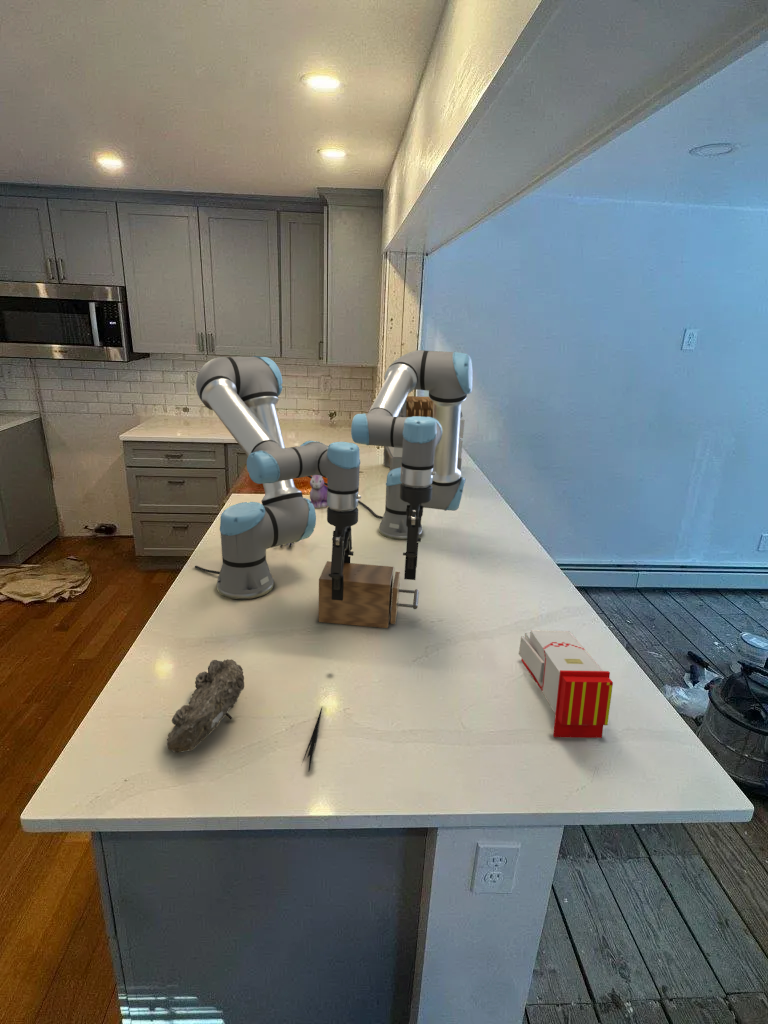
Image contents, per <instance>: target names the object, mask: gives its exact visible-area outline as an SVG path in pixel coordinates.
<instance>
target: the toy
mask: <svg viewBox="0 0 768 1024" xmlns="http://www.w3.org/2000/svg"><path fill="white" fill-rule="evenodd" d="M519 641H520V642H519V650H518V655H519V657H520V658H521V660H520V661H521V662H522V664H523V666H524V667H525V669H526V670H527V671H528V673H529V674H530V676H531V677H532V679H533V680H534V682H535V684H536V685H537V686H538V687H539V689H540V690H541V692H542V694H543V696H544V697H545V699H546V701H547V702H548V705H549V706H550V708H551V709H552V711H553V713H554V723H553V732H552V733H553V734H552V736H553V738H570V739H571V738H572V739H575V738H577V739H578V738H579V739H581V738H583V739H584V738H587V739H602V737H603V732H604V726H608V725H609V716H610V710H611V702H612V693H613V685H614V682H613V681H612V679H611V677H610V675H611V672H610V671H609V670H603V668H601V666H600V665H599V664H598V663H597V661H595V659H594V658H593V657H592V656H591V654H589V652H588V651H587V650H586V648H585V647H584V646H583V645H582V644H581V643H580V642H579V640H578V639H577V638H576V637H575V635H574V634H573V633H572V632H571V631H570V630H538V629H537V630H536V629H535V630H534V629H530V631H525V632H524V636H520V640H519Z"/></svg>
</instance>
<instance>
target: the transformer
mask: <svg viewBox="0 0 768 1024" xmlns="http://www.w3.org/2000/svg"><path fill="white" fill-rule="evenodd" d="M413 416H422V417H432V418H433V401H432V400H431V399H430V398H429V396H415V395H414V396H413V395H412V396H411V395H408V396H407V398H406V400H405V402H404V404H403V407H402V409H401V411H400V413H399V415H398V417H404V418H408V417H413ZM464 429H465V419H464V418H463V411H461V414H460V429H459V445H458V460H457V468H458V469H459V470H460V472H461V473H462V461H463V460H462V453H463V442H464V441H463V440H462V439H463V438H464V431H465V430H464ZM402 449H403V448H396V447H386V446H383V466H384V467H388V468H389V472H390V471H391V470H393V469H396V468H401V465H402Z"/></svg>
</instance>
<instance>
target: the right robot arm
mask: <svg viewBox="0 0 768 1024" xmlns="http://www.w3.org/2000/svg"><path fill="white" fill-rule="evenodd" d="M473 373H474V372H473V361H472V357H471V356H470V355H469V354H468V353H465V352H457V351H442V350H441V351H440V350H439V351H438V350H425V349H424V350H423V349H420V350H419V349H418V350H413V351H410V352H407V353H405V354H403V355H401V356H400V357H398V358H396V359H395V360H394V361H392V363H391V364H390V365H389V366H388V367H387V369H386V371H385V374H384V382H383V384H382V385H381V388H380V390H379V392H378V394H377V395H376V397H375V399H374V400H373V403H372V404H371V407H370V408H369V411H368V412H367V413H365V412H363V413H357V414H355V415H354V416H353V417H352V421H351V426H350V434H351V435H350V436H351V439H352V442H353V443H354V444H357V445H358V444H359V445H365V446H374V447H375V446H376V447H384V446H386V447H396V448H403V449H402V465H401V468H396V469H393V470H391V471H390V470H389V472H388V473H387V475H386V482H385V504H384V505H385V507H384V508H385V509H384V513H383V515H382V516H381V515H378V514H376V513H375V511H374V510H373V509H372V508H370V507H369V506H368V505H366V504H365V503H363V502H362V501H361V500H360V499H358V504H359V505H361V506H362V507H364V508H365V509H366V510H367V511H369V512H370V513H371V515H372V516H374V517H375V518H377V519H381V522H379V526H378V533H379V534H380V535H381V536H382V537H385V538H387V539H389V540H395V541H406V547H405V552H403V553H402V556H405V557H404V558H405V559H404V576H403V579H404V580H408V581H416V579H417V578H416V575H417V568H418V554H419V543H421V542H422V538H421V536H422V535H423V525H422V517H423V513H424V508H425V509H433V510H442V511H451V512H452V511H453V512H454V511H457V510H458V509H459V508H460V504H461V501H462V496H463V493H464V492H463V491H464V486H465V483H466V478H465V477H463V476H462V471H461V472H460V470H459V469H458V468H457V460H458V445H459V429H460V414H461V412H462V403H463V402H464V401H466V400H467V396H468V395H469V394H472V392H473V378H474V375H473ZM414 390H415V391H416V390H418V391H420V390H421V391H427V392H428V397H429V398H430V399H431V400H432V401H433V418H432V417H422V416H413V417H408V418H404V417H398V415H399V413H400V411H401V409H402V407H403V404H404V402H405V400H406V398H407V396H409V394H410V393H412V392H413V391H414ZM307 478H309V479H310V480H311V479H312V476H307ZM324 485H325V486H328V485H327V482H325V481H324Z"/></svg>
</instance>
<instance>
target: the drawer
mask: <svg viewBox="0 0 768 1024" xmlns="http://www.w3.org/2000/svg"><path fill="white" fill-rule="evenodd" d="M400 580H401V571H395V573H394V576H393V587H392V604H391V612H390V624H391V625H396V623H397V622H396V621H397V617H398V615H397V614H398V608H399V607H401V608H409V609H410V608H412V609H413V610H417V609H418V607H419V597H420V596H419V595H420V591H419V589H418V588H417V589H414V590H413V589H412V590H411V589H401V588H400V582H401V581H400ZM400 593H405V594H413V601H412V604H411V603H401V602H400V603H399V599H400V598H399V597H400Z"/></svg>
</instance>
